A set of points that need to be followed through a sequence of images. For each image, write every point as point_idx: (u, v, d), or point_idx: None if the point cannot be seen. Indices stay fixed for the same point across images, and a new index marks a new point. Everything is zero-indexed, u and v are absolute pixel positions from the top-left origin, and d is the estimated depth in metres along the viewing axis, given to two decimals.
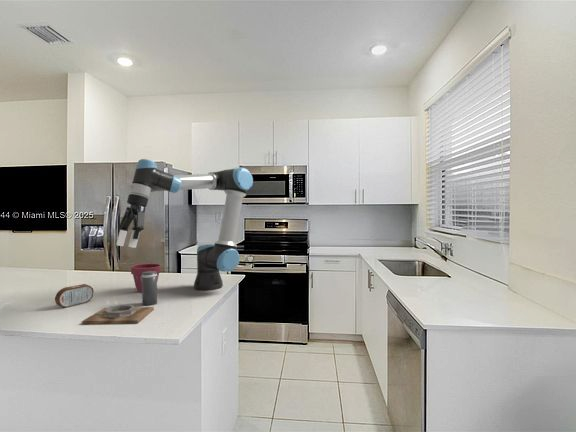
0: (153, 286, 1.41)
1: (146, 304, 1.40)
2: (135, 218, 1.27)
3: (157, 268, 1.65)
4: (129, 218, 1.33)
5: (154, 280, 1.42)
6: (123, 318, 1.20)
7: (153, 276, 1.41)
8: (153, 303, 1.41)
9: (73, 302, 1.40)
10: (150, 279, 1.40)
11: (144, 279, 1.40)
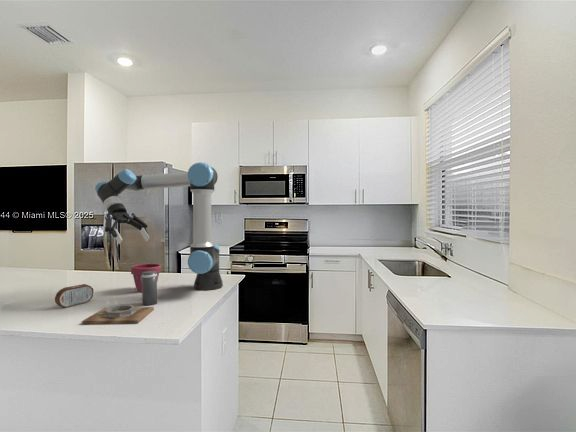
0: (153, 286, 1.41)
1: (146, 304, 1.40)
2: None
3: (157, 268, 1.65)
4: (130, 222, 1.54)
5: (154, 280, 1.42)
6: (123, 318, 1.20)
7: (153, 276, 1.41)
8: (153, 303, 1.41)
9: (73, 302, 1.40)
10: (150, 279, 1.40)
11: (144, 279, 1.40)
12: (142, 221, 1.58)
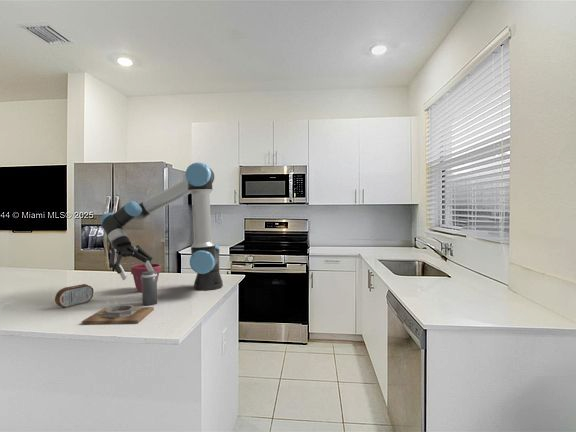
0: (153, 286, 1.41)
1: (146, 304, 1.40)
2: None
3: (157, 268, 1.65)
4: (134, 255, 1.52)
5: (154, 280, 1.42)
6: (123, 318, 1.20)
7: (153, 276, 1.41)
8: (153, 303, 1.41)
9: (73, 302, 1.40)
10: (150, 279, 1.40)
11: (144, 279, 1.40)
12: None
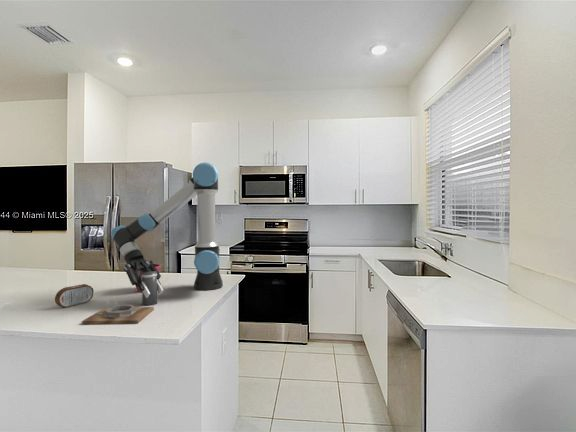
0: (153, 286, 1.41)
1: (146, 304, 1.40)
2: (135, 275, 1.43)
3: (157, 268, 1.65)
4: (145, 270, 1.47)
5: (154, 280, 1.42)
6: (123, 318, 1.20)
7: (153, 276, 1.41)
8: (153, 303, 1.41)
9: (73, 302, 1.40)
10: (150, 279, 1.40)
11: (144, 279, 1.40)
12: None
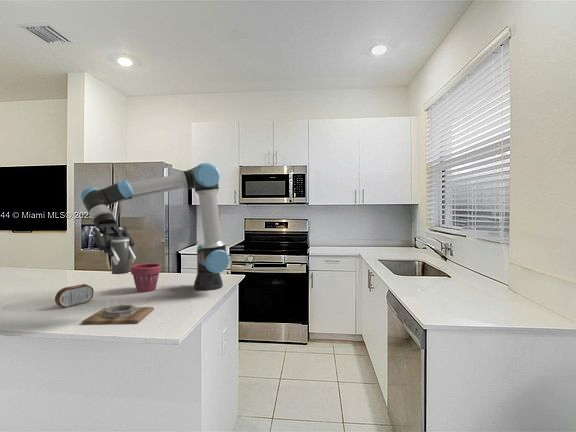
0: (124, 253, 1.25)
1: (115, 272, 1.24)
2: (104, 240, 1.27)
3: (157, 268, 1.65)
4: (116, 236, 1.31)
5: (125, 246, 1.25)
6: (123, 318, 1.20)
7: (124, 241, 1.25)
8: (124, 272, 1.25)
9: (73, 302, 1.40)
10: (120, 244, 1.24)
11: (114, 245, 1.24)
12: None
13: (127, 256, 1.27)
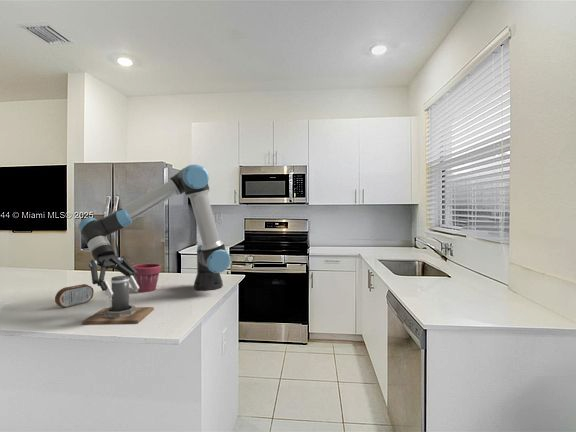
0: (124, 293, 1.24)
1: None
2: (100, 272, 1.25)
3: (157, 268, 1.65)
4: (117, 267, 1.31)
5: (125, 286, 1.25)
6: (123, 318, 1.20)
7: (124, 281, 1.24)
8: None
9: (73, 302, 1.40)
10: (120, 285, 1.23)
11: (113, 285, 1.23)
12: None
13: (127, 296, 1.26)
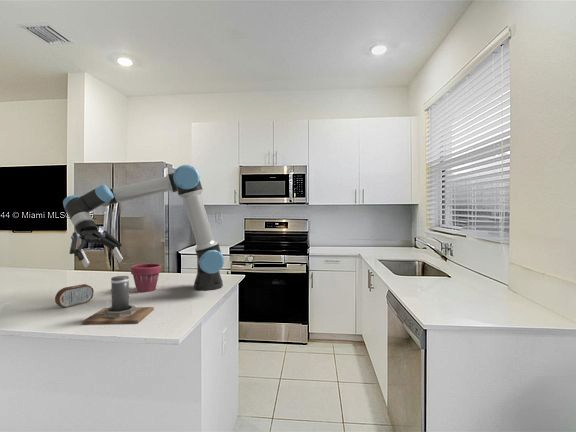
0: (124, 293, 1.24)
1: None
2: None
3: (157, 268, 1.65)
4: (101, 241, 1.38)
5: (125, 286, 1.25)
6: (123, 318, 1.20)
7: (124, 281, 1.24)
8: None
9: (73, 302, 1.40)
10: (120, 285, 1.23)
11: (113, 285, 1.23)
12: (115, 239, 1.42)
13: (127, 296, 1.26)
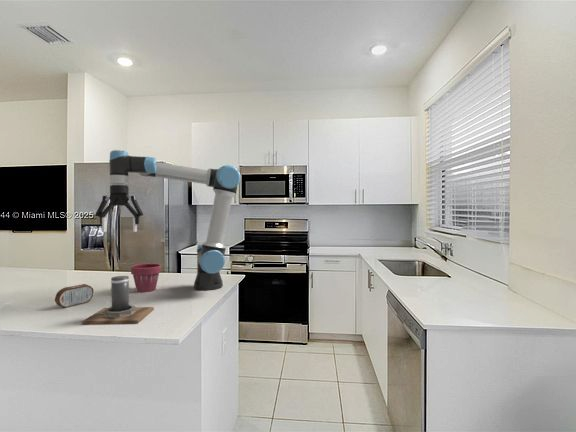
0: (124, 293, 1.24)
1: None
2: None
3: (157, 268, 1.65)
4: None
5: (125, 286, 1.25)
6: (123, 318, 1.20)
7: (124, 281, 1.24)
8: None
9: (73, 302, 1.40)
10: (120, 285, 1.23)
11: (113, 285, 1.23)
12: (138, 208, 1.46)
13: (127, 296, 1.26)
